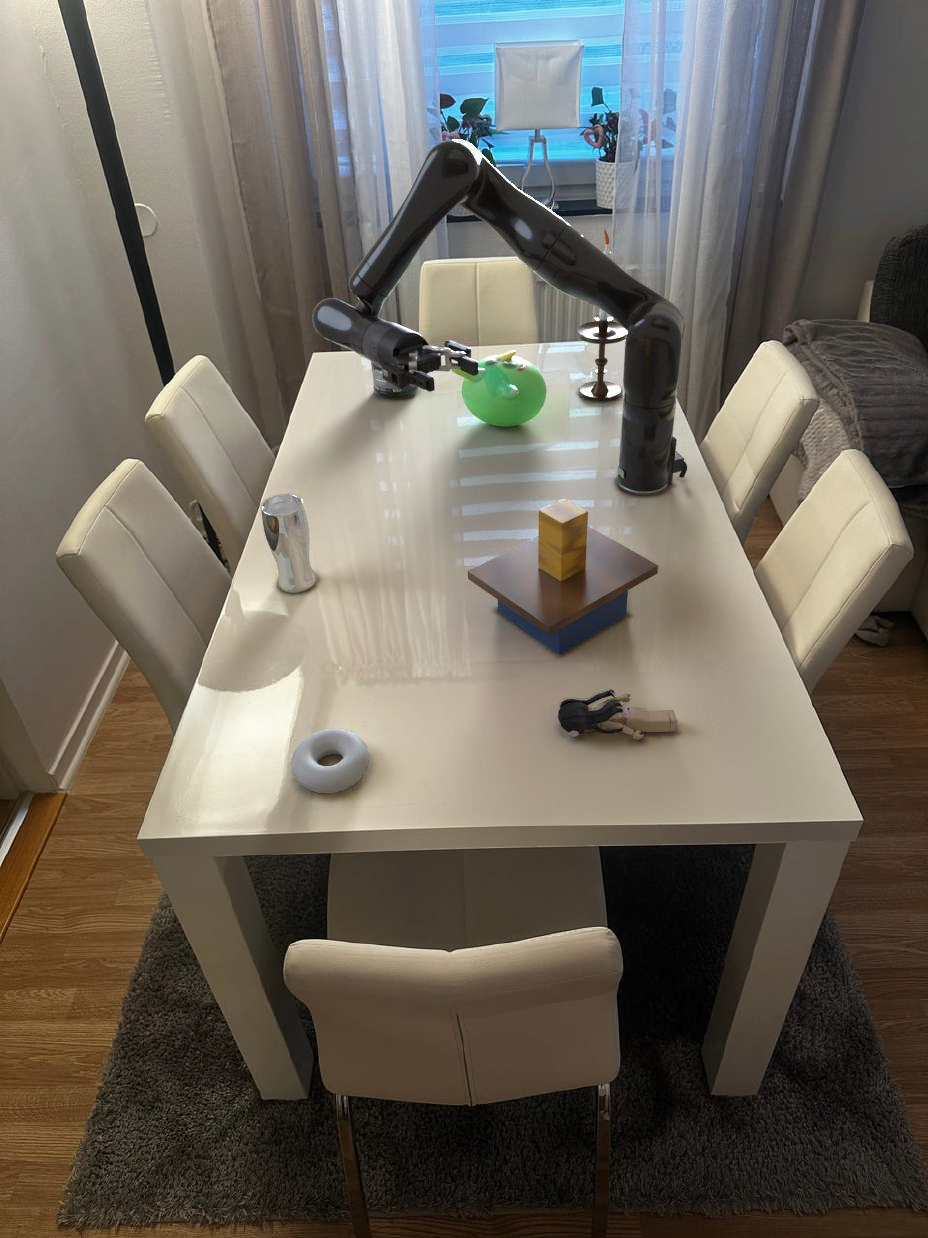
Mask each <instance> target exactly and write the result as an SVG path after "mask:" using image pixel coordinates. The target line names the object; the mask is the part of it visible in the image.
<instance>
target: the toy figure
mask: <svg viewBox="0 0 928 1238" xmlns="http://www.w3.org/2000/svg"><path fill="white" fill-rule="evenodd" d="M615 696H616V692H615V690H614V689H612V688H611V687H609V688H607V690H604V691H603V690H601V691H600V692H599V693H594V694H593V695H591V696H590V697H588V698H587V699H580V698H578V697H575V698H565V697H564V698H562V699H560V702H559V703H558V704H559V709H558V712H557V719H558V722H559V724H560V727H561V728H562V729H563V731H564V734H565V735H568V736H570V737H572V738H575V737H577V736H579V735H581V734H582V735H583V734H591V733H601V734H604V735H611V734H616V733H617V734H619V733H623V734H627V735H629V736H631V737H632V739H633V740H641V739H642V738H643V737H644V736H645V735H644V734H641V733H642V732H643V733H665V732H668V733H669V732H675V730H676V728H677V724H678V718H677V715H676V713H675V710H674V709H661V710H660V709H657V710H656V709H655V710H646V709H641V708H636V707H632V708H631V707H630V708H629V707H628V706H627V704H626V703H629V702H630V701H631V696H632V694H631V693H628V692H627V693H623V695H621V696H617V697H615ZM608 697H611V698H608ZM605 698H607V699H606V700H604V701H602V702H600V703H598V704H596V705H595V706H594V707H593V708H591V706H590V705H591V704H594V703H595V702H597V701H600V700H602V699H605ZM561 700H562V701H561ZM622 702H623V703H622Z"/></svg>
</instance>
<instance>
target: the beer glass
mask: <svg viewBox="0 0 928 1238" xmlns="http://www.w3.org/2000/svg"><path fill="white" fill-rule="evenodd" d="M304 505H305V504H304V501H303V498H302V497H301V496H299V495H297V494H294V493H279V494H275V495H272V496H270V497H267V498H266V499H264V500H263V501H262V503H261V505H260V511H261V520H262V526H263V533H264V535H265V540H266V542H267V544H268V548H269V549H270V552H271V554H272V556H273V558H274V560H275V563H276V567H277V571H278V572H277V573H278V587H279V589H281V590H282V591H284V592H286V593H290V594H295V593H296V594H297V593H303V592H305V591H307V590H310V588H312V587H313V586H314V585H315V583H316V575H315V572H314V570H313V567H312V564H311V559H310V545H311V544H310V543H311V541H310V539H311V537H310V527H309V520H308V516H307V512H306V509H305V506H304Z"/></svg>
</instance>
